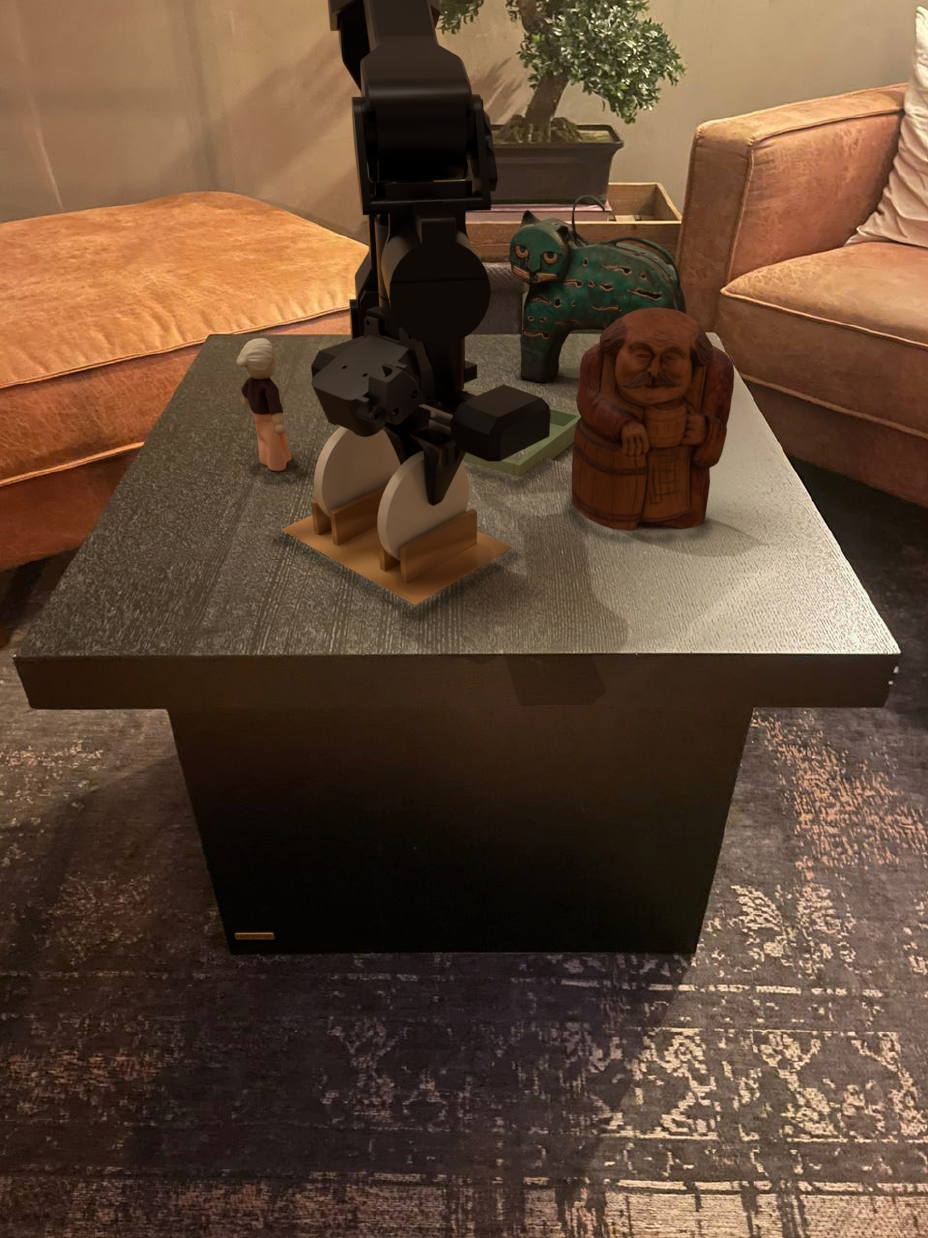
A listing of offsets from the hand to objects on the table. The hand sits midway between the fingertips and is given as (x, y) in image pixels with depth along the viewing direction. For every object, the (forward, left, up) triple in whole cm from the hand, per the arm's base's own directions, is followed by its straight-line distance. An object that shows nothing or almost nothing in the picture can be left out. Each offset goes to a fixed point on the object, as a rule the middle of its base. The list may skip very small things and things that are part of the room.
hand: (428, 499), depth 70 cm
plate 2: (0, 0, -5) cm, 5 cm away
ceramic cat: (-6, +40, -6) cm, 41 cm away
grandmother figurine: (-22, +6, -6) cm, 24 cm away
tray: (-8, +22, -6) cm, 24 cm away
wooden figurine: (+11, +16, -6) cm, 20 cm away
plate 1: (-8, +1, -5) cm, 9 cm away
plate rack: (-4, +1, -6) cm, 7 cm away
